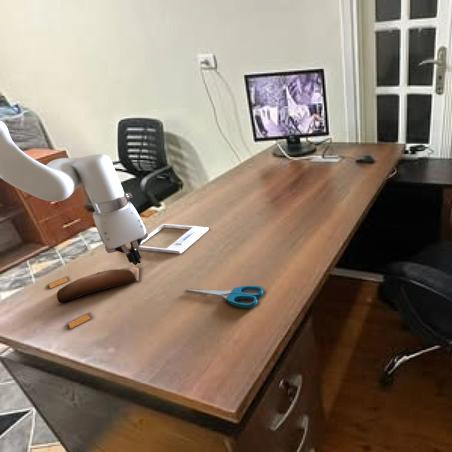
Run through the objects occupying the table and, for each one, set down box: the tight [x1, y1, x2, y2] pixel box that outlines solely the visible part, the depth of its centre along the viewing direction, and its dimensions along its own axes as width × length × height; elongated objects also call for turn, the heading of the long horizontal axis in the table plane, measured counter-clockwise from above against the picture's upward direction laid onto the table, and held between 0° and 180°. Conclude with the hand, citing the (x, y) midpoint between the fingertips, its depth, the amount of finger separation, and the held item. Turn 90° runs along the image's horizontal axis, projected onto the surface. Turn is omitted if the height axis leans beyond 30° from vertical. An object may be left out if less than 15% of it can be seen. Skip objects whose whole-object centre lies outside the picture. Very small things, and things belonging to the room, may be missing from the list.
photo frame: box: [138, 223, 210, 254], centre depth 113 cm, size 15×1×18 cm
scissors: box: [186, 285, 264, 309], centre depth 86 cm, size 7×1×20 cm
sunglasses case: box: [56, 267, 140, 304], centre depth 93 cm, size 18×7×7 cm
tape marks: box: [48, 277, 91, 330], centre depth 89 cm, size 4×25×1 cm, turn 46°
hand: (136, 262), depth 98 cm, fingers closed
